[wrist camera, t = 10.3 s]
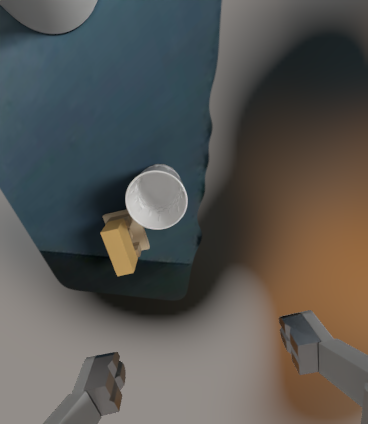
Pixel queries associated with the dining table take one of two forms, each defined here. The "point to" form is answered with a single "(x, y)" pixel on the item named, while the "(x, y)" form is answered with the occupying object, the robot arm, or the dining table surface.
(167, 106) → the dining table surface
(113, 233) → the tan rectangular block
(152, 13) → the dining table surface
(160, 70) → the dining table surface
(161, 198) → the white cup
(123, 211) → the display stand
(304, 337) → the robot arm
